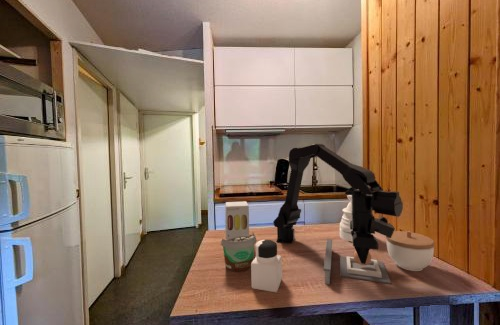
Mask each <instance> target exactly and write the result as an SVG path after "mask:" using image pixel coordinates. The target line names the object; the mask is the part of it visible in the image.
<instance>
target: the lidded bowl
mask: <svg viewBox="0 0 500 325" xmlns="http://www.w3.org/2000/svg"><path fill="white" fill-rule="evenodd" d="M385 239H386V249H387V253H388V255H389V257H390V259H391V260H392V261H393V262H394V263H395V265H396V266H397V267H399V268H400V269H403V270H406V271H409V272H410V271H411V272H420V271H423V269H425V268H426V267H428V266H430V265H431V262H432V260H433V257H434V250H435V249H434V248H435V241H434V240H433V239H432V238H431V237H429V236H426V235H423V234H420V233H417V232H412V231H411V230H406V231H404V230H403V231H402V230H394V232H393V234H392V237H391V238H388V237H386V236H385Z"/></svg>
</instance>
